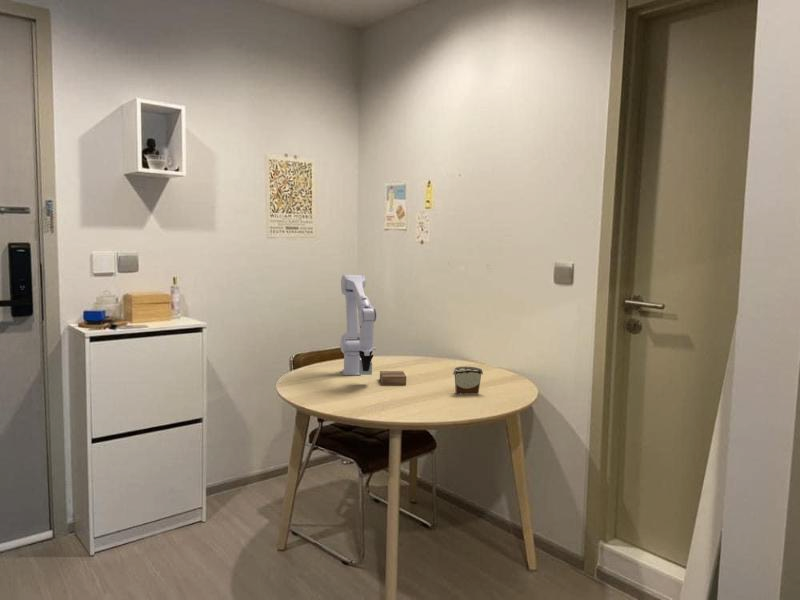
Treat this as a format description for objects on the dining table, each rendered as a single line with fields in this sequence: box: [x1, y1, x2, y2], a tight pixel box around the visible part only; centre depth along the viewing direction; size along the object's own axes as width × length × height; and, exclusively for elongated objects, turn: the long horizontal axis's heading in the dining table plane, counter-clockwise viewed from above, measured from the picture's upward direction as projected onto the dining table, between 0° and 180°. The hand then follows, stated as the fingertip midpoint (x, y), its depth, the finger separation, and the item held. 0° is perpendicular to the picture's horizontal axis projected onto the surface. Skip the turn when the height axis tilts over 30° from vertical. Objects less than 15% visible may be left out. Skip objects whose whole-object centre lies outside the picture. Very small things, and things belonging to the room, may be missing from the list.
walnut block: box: [379, 370, 407, 386], centre depth 254 cm, size 10×10×4 cm
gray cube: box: [359, 359, 373, 376], centre depth 247 cm, size 5×5×5 cm
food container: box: [452, 366, 484, 395], centre depth 241 cm, size 12×6×10 cm, turn 104°
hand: (365, 369), depth 247 cm, fingers closed on gray cube, 5 cm apart
